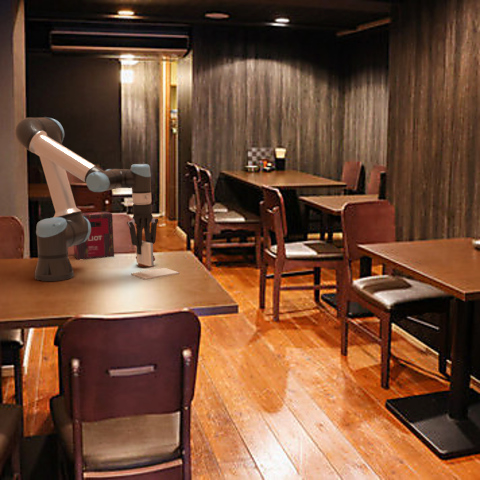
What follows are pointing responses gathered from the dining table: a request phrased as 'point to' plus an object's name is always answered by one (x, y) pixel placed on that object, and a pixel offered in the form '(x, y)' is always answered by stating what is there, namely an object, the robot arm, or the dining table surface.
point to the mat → (154, 273)
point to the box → (97, 237)
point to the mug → (144, 240)
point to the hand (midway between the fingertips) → (144, 261)
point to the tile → (146, 254)
